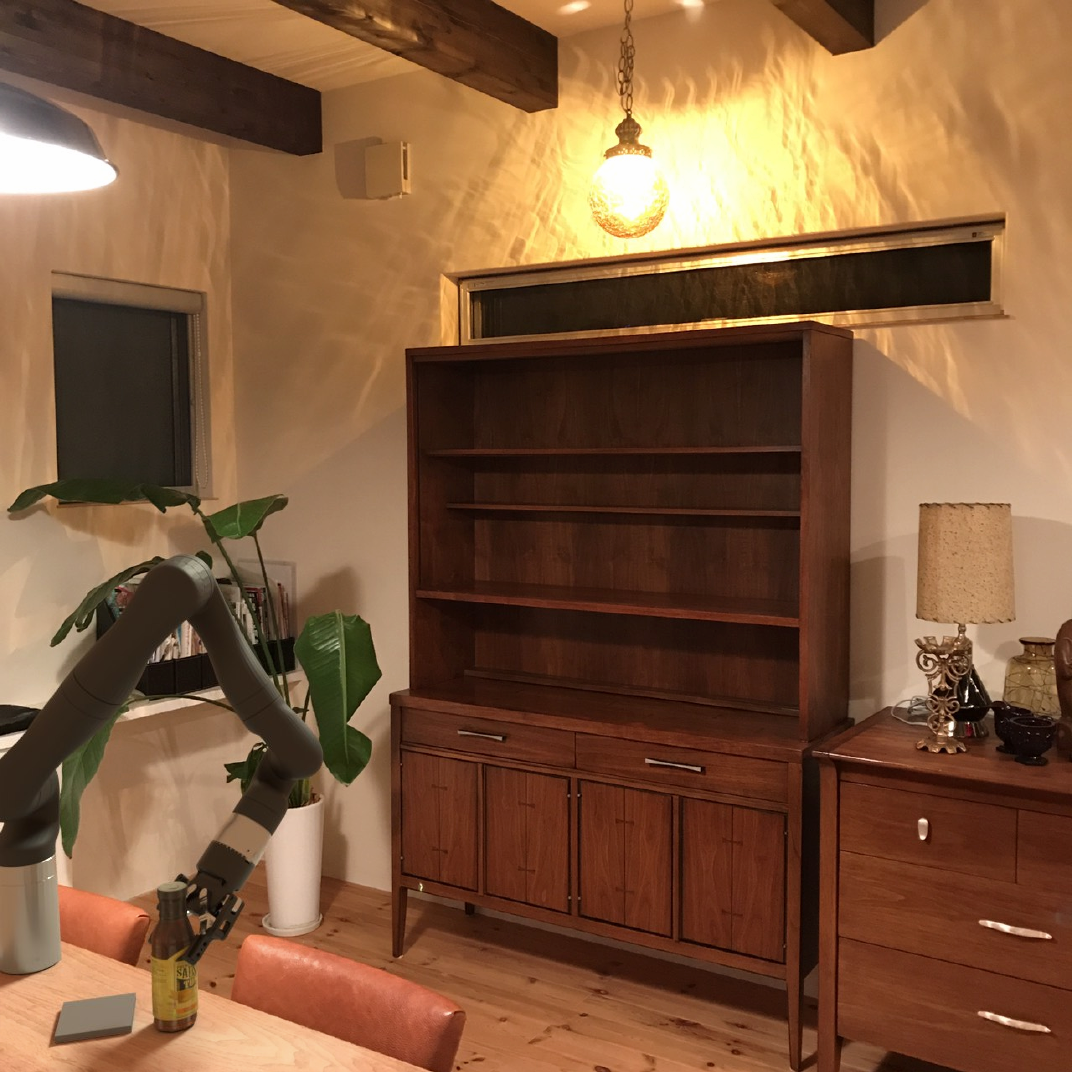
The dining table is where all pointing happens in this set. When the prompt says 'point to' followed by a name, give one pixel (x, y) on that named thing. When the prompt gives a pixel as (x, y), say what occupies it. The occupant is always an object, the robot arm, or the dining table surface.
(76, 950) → the dining table surface
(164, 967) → the sauce bottle
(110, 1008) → the rubber mat
